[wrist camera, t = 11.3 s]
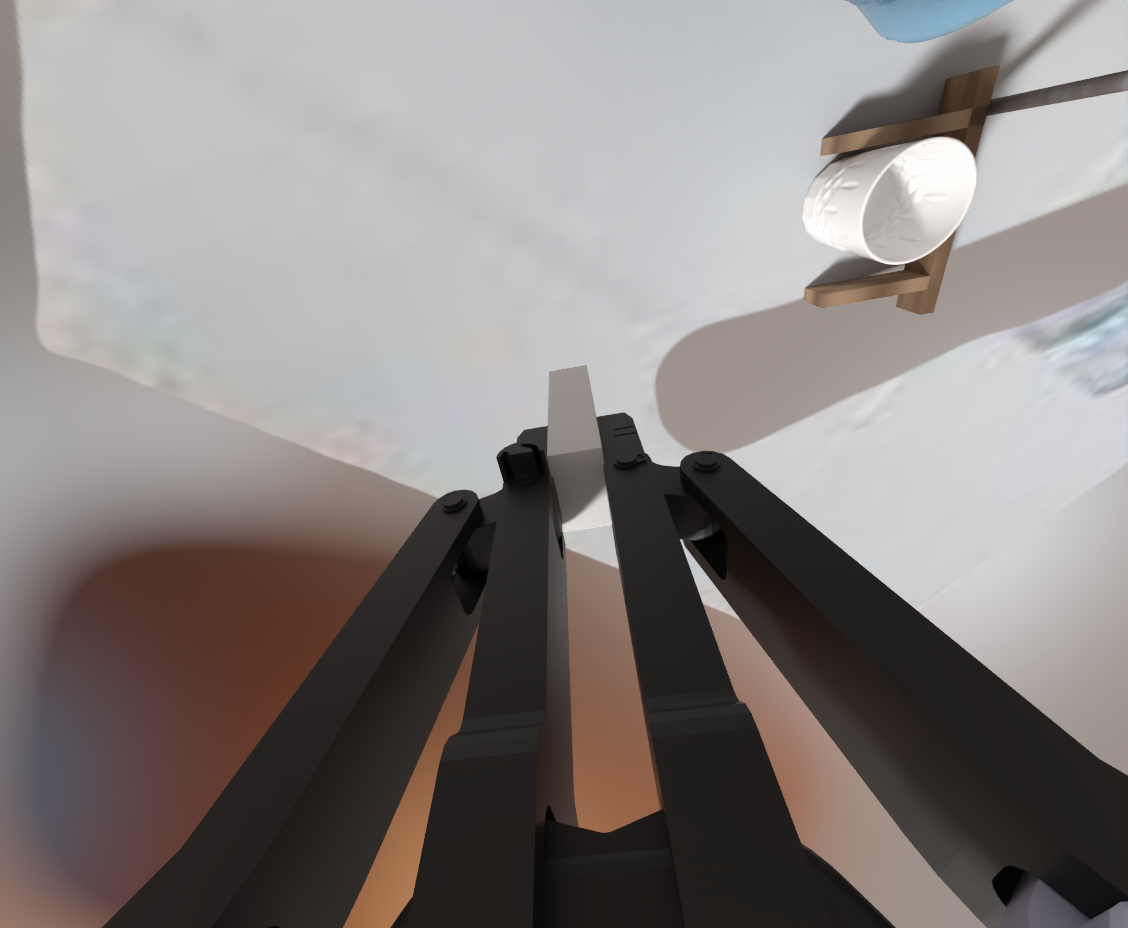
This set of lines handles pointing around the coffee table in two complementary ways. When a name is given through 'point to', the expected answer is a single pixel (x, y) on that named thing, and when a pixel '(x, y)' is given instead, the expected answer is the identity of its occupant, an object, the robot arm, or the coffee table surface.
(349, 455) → the coffee table surface
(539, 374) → the coffee table surface
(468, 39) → the coffee table surface
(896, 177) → the white cup
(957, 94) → the wooden cup stand
